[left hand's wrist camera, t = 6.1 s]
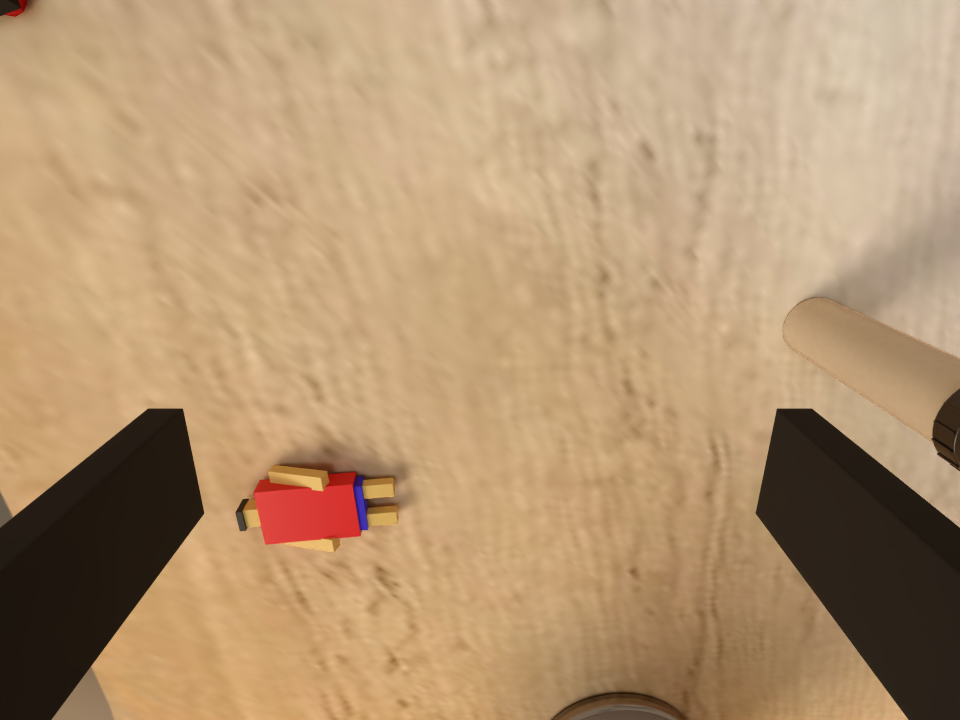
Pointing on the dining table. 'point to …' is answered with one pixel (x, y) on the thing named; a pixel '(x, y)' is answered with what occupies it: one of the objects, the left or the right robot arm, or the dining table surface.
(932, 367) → the beige long cylinder
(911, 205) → the dining table surface
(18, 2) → the electric hoist
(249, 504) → the toy figure
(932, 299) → the dining table surface
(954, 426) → the lid
